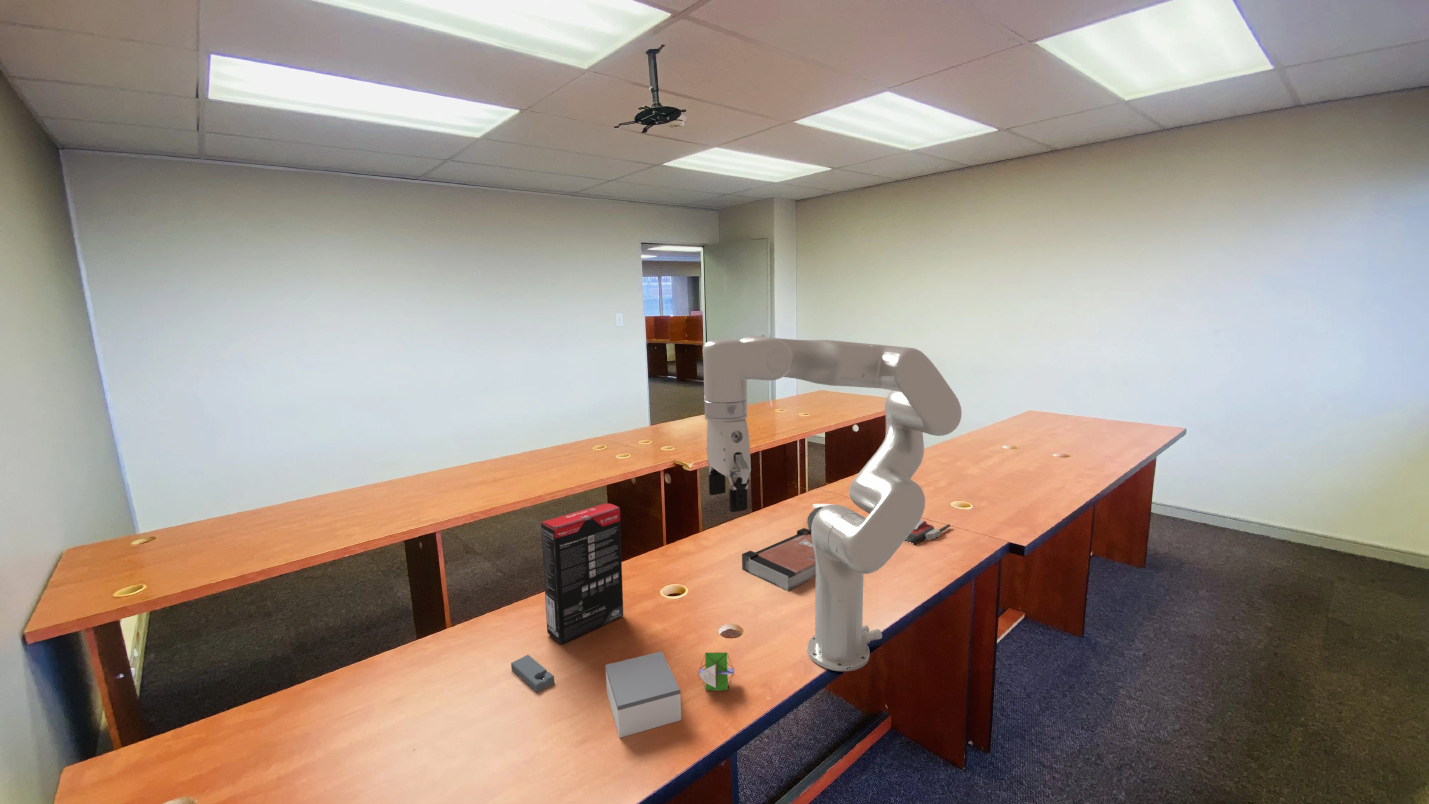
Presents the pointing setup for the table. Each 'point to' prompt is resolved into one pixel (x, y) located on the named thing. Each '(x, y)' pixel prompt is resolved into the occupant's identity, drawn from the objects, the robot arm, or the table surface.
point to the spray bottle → (813, 513)
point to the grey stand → (642, 693)
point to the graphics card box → (582, 571)
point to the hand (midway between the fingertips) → (727, 501)
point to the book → (784, 561)
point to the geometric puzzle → (716, 671)
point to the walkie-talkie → (924, 532)
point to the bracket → (532, 673)
